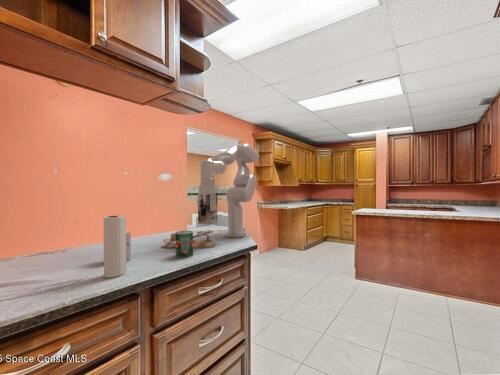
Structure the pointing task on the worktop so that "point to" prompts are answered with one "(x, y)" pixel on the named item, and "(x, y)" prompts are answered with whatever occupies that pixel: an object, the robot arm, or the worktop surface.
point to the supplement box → (128, 246)
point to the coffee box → (209, 211)
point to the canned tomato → (184, 244)
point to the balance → (196, 243)
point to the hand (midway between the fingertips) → (207, 214)
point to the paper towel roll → (114, 246)
